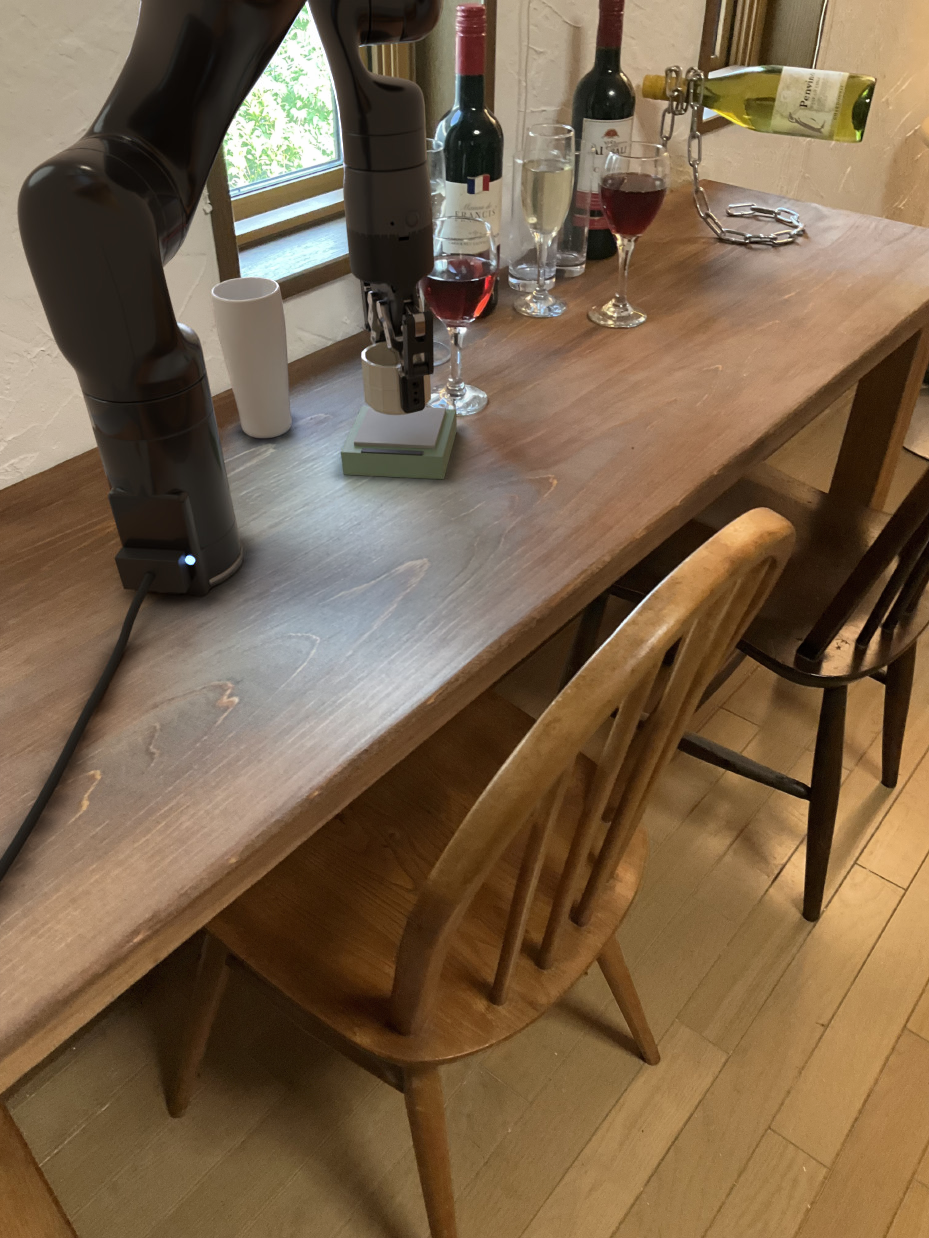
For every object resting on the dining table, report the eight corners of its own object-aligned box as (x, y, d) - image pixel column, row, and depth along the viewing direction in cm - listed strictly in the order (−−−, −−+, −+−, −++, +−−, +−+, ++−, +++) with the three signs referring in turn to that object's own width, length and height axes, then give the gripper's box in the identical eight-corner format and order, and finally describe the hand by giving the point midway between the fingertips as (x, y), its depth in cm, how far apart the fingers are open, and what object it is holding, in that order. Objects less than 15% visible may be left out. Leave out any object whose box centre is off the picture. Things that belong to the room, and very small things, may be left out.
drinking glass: (294, 444, 99) (273, 301, 90) (229, 444, 99) (202, 301, 90) (304, 413, 105) (285, 275, 95) (242, 414, 105) (218, 276, 95)
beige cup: (425, 419, 91) (423, 369, 88) (358, 415, 92) (353, 366, 89) (436, 390, 96) (434, 341, 93) (372, 386, 97) (368, 338, 93)
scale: (443, 479, 93) (442, 453, 91) (343, 474, 94) (340, 448, 92) (456, 431, 101) (456, 405, 99) (363, 426, 102) (361, 401, 100)
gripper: (324, 201, 87) (342, 374, 98) (373, 247, 77) (388, 435, 87) (402, 191, 89) (412, 361, 100) (460, 234, 79) (464, 419, 89)
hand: (400, 395), depth 93 cm, fingers closed on beige cup, 6 cm apart
